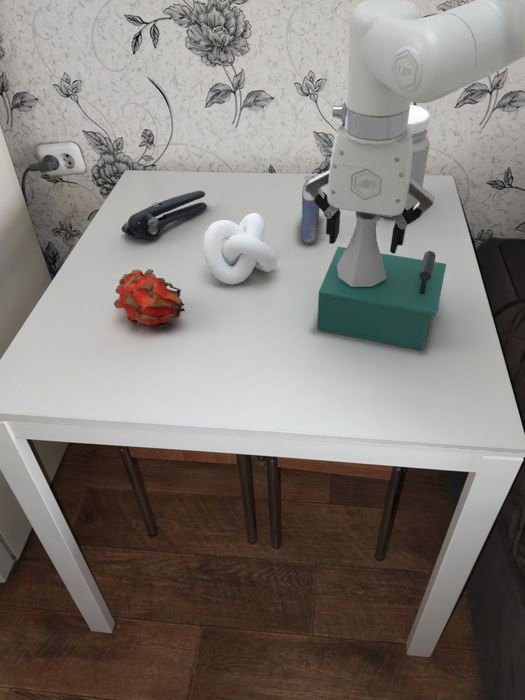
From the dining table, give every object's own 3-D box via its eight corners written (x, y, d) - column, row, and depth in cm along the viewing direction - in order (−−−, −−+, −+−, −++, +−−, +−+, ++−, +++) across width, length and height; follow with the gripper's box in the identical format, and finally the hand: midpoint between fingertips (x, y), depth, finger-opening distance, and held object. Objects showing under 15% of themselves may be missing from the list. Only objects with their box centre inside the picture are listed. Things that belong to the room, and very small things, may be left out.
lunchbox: (432, 301, 92) (440, 265, 88) (422, 350, 85) (430, 315, 80) (335, 284, 96) (337, 249, 92) (317, 330, 89) (318, 295, 84)
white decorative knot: (293, 264, 101) (293, 218, 95) (253, 302, 94) (251, 255, 88) (240, 244, 106) (236, 199, 99) (198, 279, 99) (191, 234, 92)
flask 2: (315, 245, 104) (316, 190, 97) (298, 244, 105) (298, 189, 98) (320, 217, 111) (322, 164, 104) (305, 216, 111) (305, 163, 104)
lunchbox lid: (445, 266, 87) (451, 240, 84) (436, 316, 80) (442, 289, 77) (337, 249, 92) (339, 223, 88) (318, 294, 84) (319, 268, 81)
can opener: (140, 251, 105) (134, 224, 101) (119, 235, 109) (113, 208, 105) (218, 213, 113) (215, 187, 109) (196, 200, 117) (193, 174, 113)
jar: (415, 223, 108) (431, 128, 96) (362, 216, 111) (371, 122, 98) (421, 197, 115) (437, 104, 102) (371, 191, 117) (381, 99, 105)
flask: (395, 282, 84) (404, 222, 77) (348, 293, 83) (353, 233, 76) (373, 254, 89) (380, 195, 82) (328, 264, 88) (331, 205, 81)
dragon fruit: (123, 309, 96) (186, 339, 93) (92, 313, 88) (159, 345, 85) (139, 260, 94) (203, 289, 91) (109, 259, 86) (178, 290, 83)
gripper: (296, 125, 70) (296, 248, 82) (447, 141, 65) (423, 268, 78) (313, 100, 75) (310, 220, 87) (454, 113, 70) (430, 238, 83)
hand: (363, 242), depth 82 cm, fingers open, 8 cm apart
